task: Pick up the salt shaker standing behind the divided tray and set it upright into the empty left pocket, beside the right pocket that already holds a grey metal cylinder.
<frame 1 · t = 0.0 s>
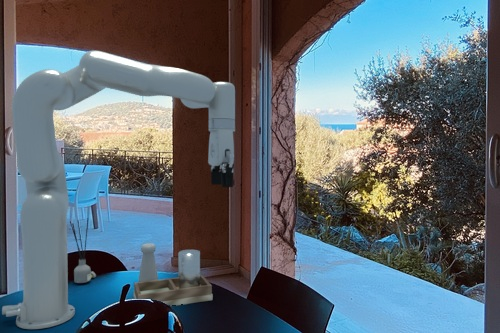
hand: (221, 185, 108), 31 cm above the table, tool pointing down, fingers open, 9 cm apart
divided tray: (172, 298, 104), on the table
salt shaker: (148, 287, 113), on the table
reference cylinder: (189, 295, 106), resting on divided tray
reed diffuser: (80, 282, 117), on the table
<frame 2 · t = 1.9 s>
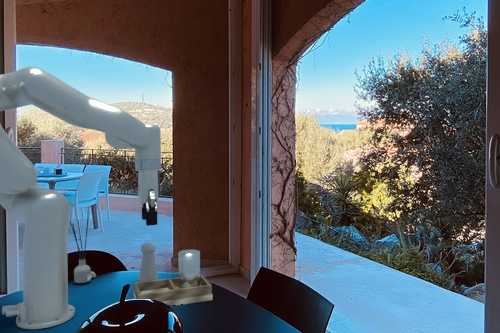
hand: (149, 222, 113), 20 cm above the table, tool pointing down, fingers open, 9 cm apart
nothing on the table moved.
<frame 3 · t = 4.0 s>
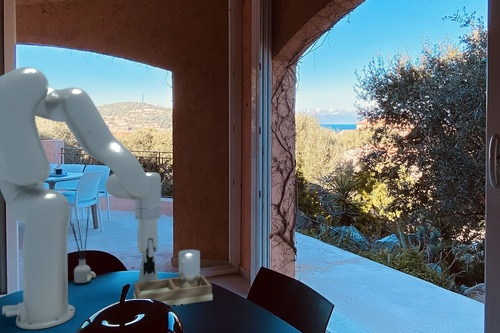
hand: (148, 272, 113), 4 cm above the table, tool pointing down, fingers closed on salt shaker, 3 cm apart
salt shaker: (148, 287, 113), on the table, touching gripper
everything else where it was.
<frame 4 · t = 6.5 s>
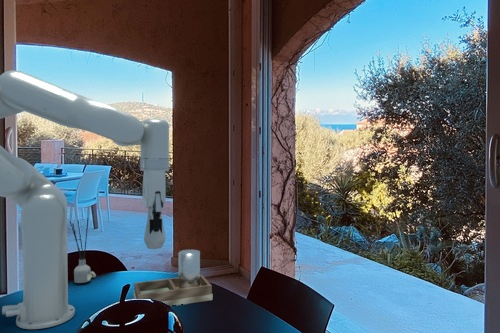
hand: (154, 231, 102), 19 cm above the table, tool pointing down, fingers closed on salt shaker, 3 cm apart
salt shaker: (154, 248, 102), point 15 cm above the table, touching gripper
everything else where it was.
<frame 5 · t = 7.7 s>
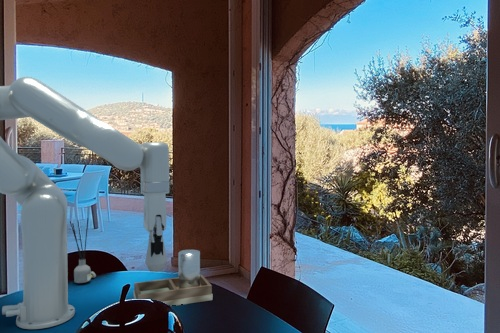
hand: (156, 254, 102), 13 cm above the table, tool pointing down, fingers closed on salt shaker, 3 cm apart
salt shaker: (156, 270, 102), point 8 cm above the table, touching gripper
everything else where it was.
when the fingers open (8 cm above the table, at t = 8.9 s): salt shaker drops 2 cm, resting on divided tray.
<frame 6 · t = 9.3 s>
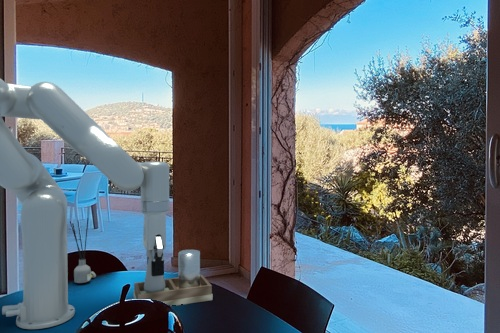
hand: (155, 270, 102), 8 cm above the table, tool pointing down, fingers open, 7 cm apart
salt shaker: (154, 295, 102), point 2 cm above the table, touching divided tray
everything else where it was.
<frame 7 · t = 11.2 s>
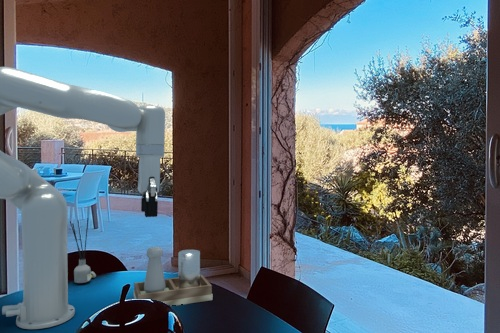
hand: (148, 213, 102), 24 cm above the table, tool pointing down, fingers open, 9 cm apart
nothing on the table moved.
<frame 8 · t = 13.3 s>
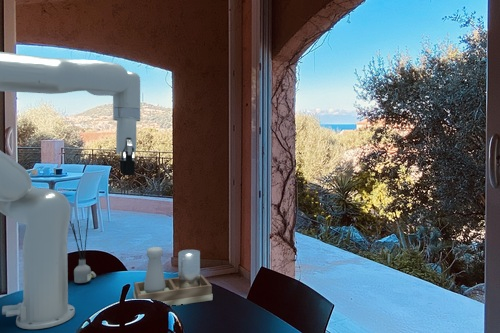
hand: (127, 174, 109), 34 cm above the table, tool pointing down, fingers open, 9 cm apart
nothing on the table moved.
at the end: salt shaker 0.3 cm from the target spot on the divided tray, point 1.5 cm above the divided tray's base; salt shaker tilted 0°; the gripper is holding nothing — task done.
